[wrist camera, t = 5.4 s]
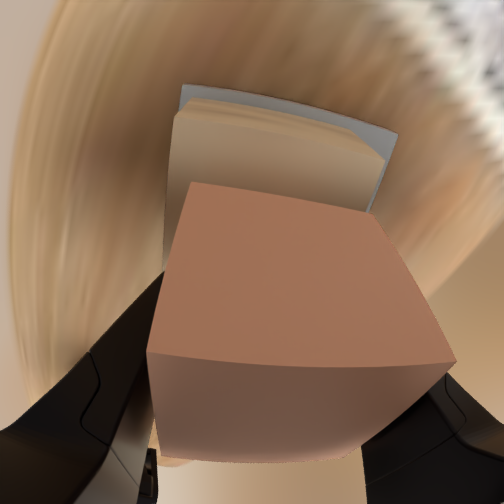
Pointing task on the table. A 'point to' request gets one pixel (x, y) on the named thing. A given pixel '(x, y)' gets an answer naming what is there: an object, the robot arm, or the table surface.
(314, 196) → the base brick
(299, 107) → the build plate
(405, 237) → the table surface
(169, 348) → the top brick
